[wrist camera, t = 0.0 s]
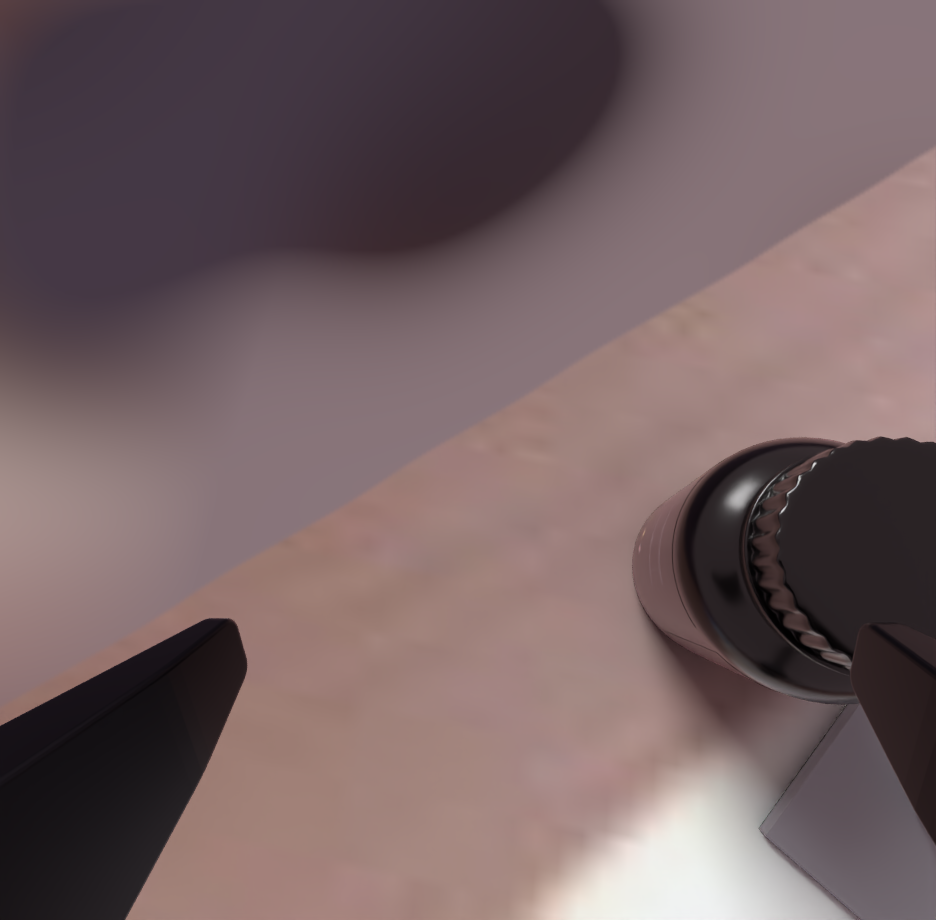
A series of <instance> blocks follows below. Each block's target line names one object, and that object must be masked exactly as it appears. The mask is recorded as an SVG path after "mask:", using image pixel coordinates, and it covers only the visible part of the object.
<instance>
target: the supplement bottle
mask: <svg viewBox="0 0 936 920" xmlns="http://www.w3.org/2000/svg"><path fill="white" fill-rule="evenodd" d="M632 570H633V579H634V584H635V588H636V591H637V594H638V597H639V599H640V601H641V603H642V605H643V607H644V609H645V611H646V612H647V614H648V615H649V617H650V618H651V619H652V621H653V622H654V623H655V624H656V625H657V627H658V628H659V629H660V630H661V631H662V632H663V633H665V634H666V635H667V636H668V637H669V638H670V639H672V640H673V641H674V642H676V643H677V644H679V645H680V646H682V647H684V648H686V649H688V650H689V651H691V652H693V653H695V654H697V655H699V656H701V657H703V658H705V659H707V660H710V661H712V662H714V663H716V664H718V665H720V666H722V667H724V668H726V669H728V670H731V671H733V672H735V673H737V674H739V675H741V676H743V677H745V678H747V679H750V680H752V681H754V682H756V683H758V684H760V685H763V686H765V687H767V688H769V689H772V690H774V691H777V692H780V693H783V694H786V695H788V696H792V697H795V698H799V699H803V700H807V701H811V702H818V703H825V704H858V703H860V702H859V700H858V698H857V696H856V694H855V692H854V690H853V687H852V684H851V679H850V669H851V664H852V660H853V655H854V650H855V645H856V641H857V636H858V632H859V629H860V628H861V626H862V625H863V624H865V623H868V622H896V623H901V624H904V625H906V626H908V627H910V628H912V629H915V630H917V631H919V632H921V633H923V634H925V635H927V636H929V637H932V638H934V639H936V443H934V442H923V443H920V442H918V441H916V440H914V439H911V438H908V437H904V438H898V439H894V440H893V439H890V438H885V437H876V438H873V439H871V440H868V441H858V440H856V441H851V442H848V443H842V442H838V441H834V440H827V439H821V438H807V437H802V438H785V439H777V440H772V441H767V442H763V443H760V444H757V445H753V446H751V447H748V448H746V449H744V450H741V451H739V452H737V453H735V454H733V455H732V456H730V457H728V458H726V459H724V460H723V461H721V462H720V463H718V464H717V465H715V466H714V467H712V468H711V469H710V470H708V471H707V472H705V473H704V474H703V475H701V476H700V477H698V478H697V479H696V480H694V481H693V482H691V483H690V484H689V485H687V486H686V487H684V488H683V489H682V490H680V491H679V492H677V493H676V494H675V495H673V496H672V497H670V498H669V499H668V500H666V501H665V502H664V503H663V504H661V505H660V506H659V507H658V508H657V509H656V510H655V511H654V512H653V513H652V514H651V515H650V516H649V518H648V519H647V520H646V522H645V523H644V525H643V527H642V528H641V530H640V532H639V534H638V537H637V540H636V543H635V547H634V551H633V559H632Z"/></svg>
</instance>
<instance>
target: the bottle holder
mask: <svg viewBox="0 0 936 920" xmlns="http://www.w3.org/2000/svg"><path fill="white" fill-rule="evenodd" d="M759 830H760V831H761V832H762V833H763V834H764V835H765V837H767V838H768V839H769V840H770V841H771V842H772V843H773V844H775V845H776V846H777V847H778V848H779V849H780V850H782V851H783V852H784V853H785V854H786V855H787V856H788V857H790V858H791V859H792V860H793V861H794V862H795V863H796V864H798V865H799V866H800V867H801V868H802V869H803V870H805V871H806V872H807V873H808V874H809V875H810V876H811V877H813V878H814V879H815V880H816V881H817V882H818V883H819V884H821V885H822V886H823V887H824V888H825V889H826V890H828V891H829V892H830V893H831V894H832V895H833V896H834V897H836V898H837V899H838V900H839V901H840V902H841V903H842V904H844V905H845V906H846V907H847V908H848V909H849V910H850V911H852V912H853V913H854V914H855V915H856V916H857V917H859V918H860V919H861V920H936V846H935V844H934V842H933V841H932V839H931V838H930V836H929V834H928V833H927V831H926V829H925V828H924V826H923V824H922V823H921V821H920V819H919V818H918V816H917V814H916V813H915V811H914V809H913V807H912V805H911V803H910V802H909V800H908V798H907V796H906V794H905V792H904V790H903V788H902V786H901V784H900V782H899V780H898V778H897V776H896V774H895V772H894V770H893V768H892V766H891V764H890V762H889V760H888V758H887V756H886V754H885V752H884V750H883V748H882V746H881V744H880V742H879V740H878V738H877V736H876V734H875V732H874V730H873V728H872V726H871V724H870V722H869V720H868V718H867V716H866V714H865V712H864V710H863V708H862V706H861V704H860V703H858V704H847V706H846V707H845V709H844V710H843V711H842V713H841V714H840V716H839V717H838V718H837V720H836V721H835V723H834V724H833V725H832V727H831V728H830V730H829V731H828V732H827V734H826V735H825V737H824V738H823V739H822V741H821V742H820V744H819V745H818V746H817V748H816V749H815V751H814V752H813V753H812V755H811V756H810V758H809V759H808V760H807V762H806V763H805V765H804V766H803V767H802V769H801V770H800V772H799V773H798V774H797V776H796V777H795V779H794V780H793V781H792V783H791V784H790V786H789V787H788V788H787V790H786V791H785V793H784V794H783V795H782V797H781V798H780V800H779V801H778V802H777V804H776V805H775V807H774V808H773V809H772V811H771V812H770V814H769V815H768V816H767V818H766V819H765V821H764V822H763V823H762V825H761V826H760V828H759Z"/></svg>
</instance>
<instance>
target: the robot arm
mask: <svg viewBox="0 0 936 920" xmlns="http://www.w3.org/2000/svg"><path fill="white" fill-rule="evenodd" d="M246 672H247V658H246V655H245V651H244V648H243V644H242V640H241V637H240V633H239V630H238V626H237V624H236V623H235V621H233V620H232V619H229V618H209V619H205V620H203V621H201V622H199V623H197V624H195V625H193V626H191V627H189V628H187V629H185V630H183V631H181V632H180V633H178V634H176V635H174V636H172V637H170V638H168V639H166V640H164V641H162V642H160V643H158V644H157V645H155V646H153V647H151V648H149V649H147V650H145V651H143V652H141V653H139V654H137V655H135V656H133V657H132V658H130V659H128V660H126V661H124V662H122V663H120V664H118V665H116V666H114V667H112V668H110V669H108V670H107V671H105V672H103V673H101V674H99V675H97V676H95V677H93V678H91V679H89V680H87V681H85V682H83V683H82V684H80V685H78V686H76V687H74V688H72V689H70V690H68V691H66V692H64V693H62V694H60V695H59V696H57V697H55V698H53V699H51V700H49V701H47V702H45V703H43V704H41V705H39V706H37V707H35V708H34V709H32V710H30V711H28V712H26V713H24V714H22V715H20V716H18V717H16V718H14V719H12V720H10V721H9V722H7V723H5V724H3V725H1V726H0V920H125V919H126V917H127V916H128V914H129V912H130V910H131V908H132V906H133V904H134V903H135V901H136V899H137V897H138V895H139V893H140V891H141V890H142V888H143V886H144V884H145V882H146V880H147V878H148V877H149V875H150V873H151V871H152V869H153V867H154V865H155V863H156V862H157V860H158V858H159V856H160V854H161V852H162V850H163V849H164V847H165V845H166V843H167V841H168V839H169V837H170V836H171V834H172V832H173V830H174V828H175V826H176V824H177V823H178V821H179V819H180V817H181V815H182V813H183V811H184V810H185V808H186V806H187V804H188V802H189V800H190V798H191V797H192V795H193V793H194V791H195V789H196V787H197V785H198V783H199V781H200V779H201V777H202V775H203V773H204V771H205V769H206V767H207V764H208V762H209V760H210V758H211V756H212V753H213V751H214V749H215V746H216V744H217V742H218V739H219V737H220V735H221V732H222V730H223V728H224V725H225V723H226V721H227V718H228V716H229V714H230V711H231V709H232V707H233V704H234V702H235V700H236V697H237V695H238V693H239V690H240V688H241V686H242V683H243V681H244V679H245V676H246ZM850 679H851V684H852V687H853V690H854V692H855V694H856V696H857V698H858V700H859V702H860V704H861V706H862V708H863V710H864V712H865V714H866V716H867V718H868V720H869V722H870V724H871V726H872V728H873V730H874V732H875V734H876V736H877V738H878V740H879V742H880V744H881V746H882V748H883V750H884V752H885V754H886V756H887V758H888V760H889V762H890V764H891V766H892V768H893V770H894V772H895V774H896V776H897V778H898V780H899V782H900V784H901V786H902V788H903V790H904V792H905V794H906V796H907V798H908V800H909V802H910V803H911V805H912V807H913V809H914V811H915V813H916V814H917V816H918V818H919V819H920V821H921V823H922V824H923V826H924V828H925V829H926V831H927V833H928V834H929V836H930V838H931V839H932V841H933V842H934V844H935V846H936V639H934V638H932V637H929V636H927V635H925V634H923V633H921V632H919V631H917V630H915V629H912V628H910V627H908V626H906V625H904V624H901V623H896V622H868V623H865V624H863V625H862V626H861V628H860V629H859V632H858V636H857V641H856V645H855V650H854V655H853V660H852V664H851V669H850Z"/></svg>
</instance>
